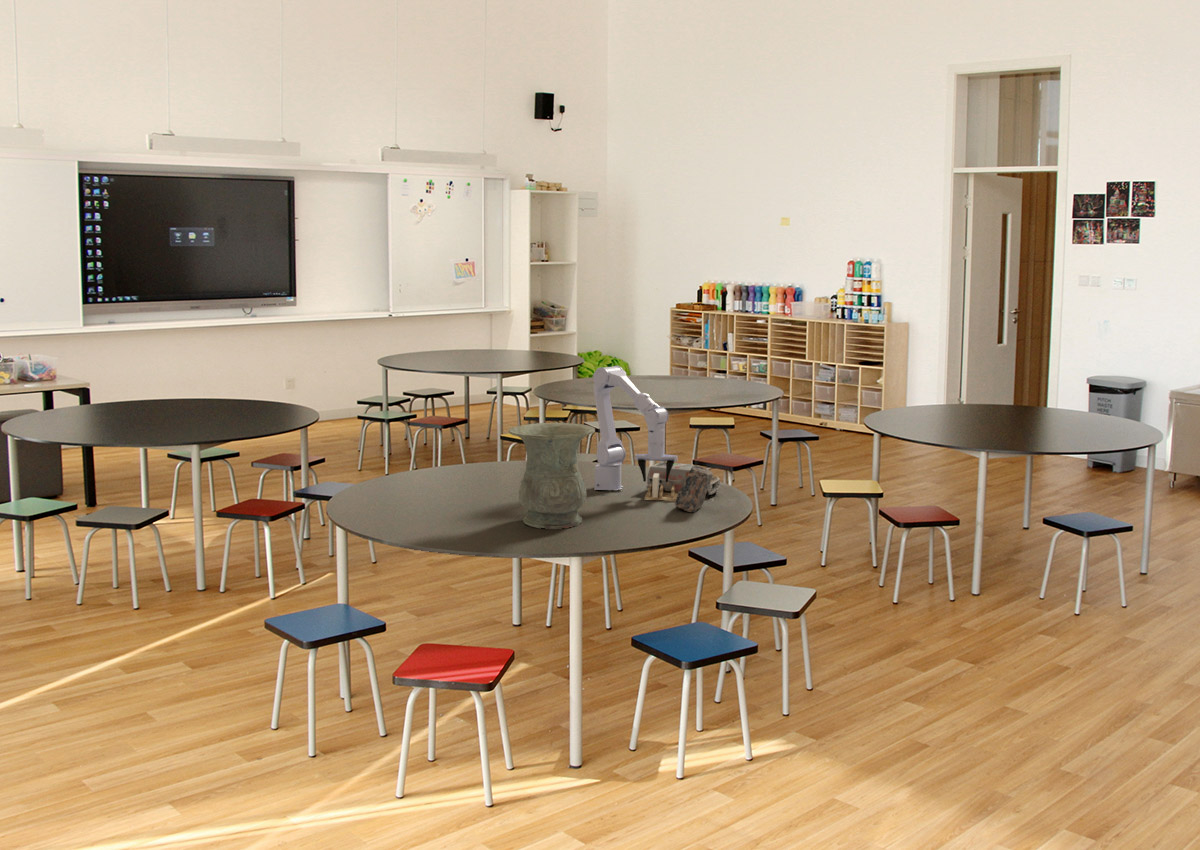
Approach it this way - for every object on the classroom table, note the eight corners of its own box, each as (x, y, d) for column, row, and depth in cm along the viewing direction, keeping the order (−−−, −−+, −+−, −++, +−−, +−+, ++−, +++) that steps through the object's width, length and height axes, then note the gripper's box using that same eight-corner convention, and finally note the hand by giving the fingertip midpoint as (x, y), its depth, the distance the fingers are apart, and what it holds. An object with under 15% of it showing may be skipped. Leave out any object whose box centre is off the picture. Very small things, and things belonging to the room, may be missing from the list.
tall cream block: (652, 497, 385) (652, 477, 384) (653, 493, 392) (654, 473, 391) (657, 497, 385) (657, 477, 384) (659, 493, 392) (659, 473, 391)
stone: (679, 514, 365) (680, 469, 362) (666, 505, 377) (666, 462, 375) (717, 512, 368) (718, 467, 366) (702, 503, 381) (703, 460, 378)
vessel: (548, 508, 373) (548, 419, 368) (611, 520, 356) (611, 427, 352) (491, 523, 352) (490, 429, 348) (554, 537, 336) (554, 438, 331)
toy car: (711, 499, 387) (711, 471, 386) (645, 493, 398) (645, 465, 396) (721, 493, 397) (722, 466, 395) (656, 487, 407) (656, 460, 406)
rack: (644, 500, 385) (644, 489, 384) (646, 494, 394) (646, 483, 393) (676, 501, 384) (676, 490, 383) (678, 495, 392) (678, 484, 392)
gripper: (634, 444, 383) (633, 483, 385) (676, 445, 381) (676, 484, 383) (636, 440, 390) (635, 478, 392) (677, 441, 388) (677, 480, 390)
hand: (655, 481), depth 388 cm, fingers open, 7 cm apart
